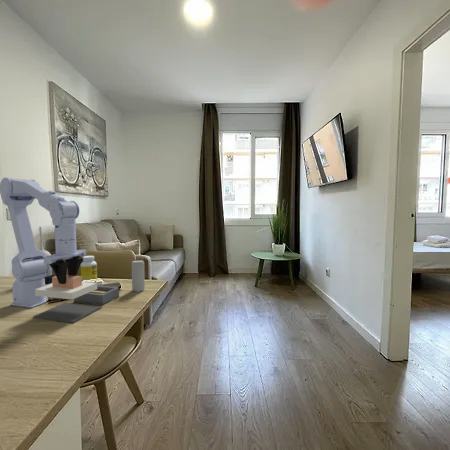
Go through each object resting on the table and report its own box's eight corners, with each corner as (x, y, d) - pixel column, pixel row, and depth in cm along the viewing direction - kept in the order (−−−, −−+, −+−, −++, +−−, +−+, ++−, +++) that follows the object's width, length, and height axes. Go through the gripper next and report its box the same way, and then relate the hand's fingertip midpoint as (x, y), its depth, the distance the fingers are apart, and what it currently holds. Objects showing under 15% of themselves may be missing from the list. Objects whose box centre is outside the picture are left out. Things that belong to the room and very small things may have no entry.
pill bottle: (90, 284, 117) (89, 258, 117) (77, 283, 119) (76, 257, 118) (100, 280, 124) (99, 255, 123) (88, 279, 125) (87, 254, 124)
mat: (32, 317, 83) (32, 316, 83) (64, 304, 94) (64, 302, 94) (73, 323, 79) (73, 321, 79) (101, 308, 91) (101, 306, 91)
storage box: (74, 301, 96) (73, 292, 96) (92, 293, 105) (91, 285, 105) (102, 305, 93) (102, 295, 93) (119, 296, 102) (118, 287, 102)
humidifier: (37, 280, 123) (34, 226, 121) (57, 279, 125) (54, 226, 123) (28, 285, 115) (25, 227, 113) (50, 284, 117) (47, 227, 115)
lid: (35, 295, 83) (34, 279, 82) (63, 285, 93) (63, 271, 93) (72, 299, 79) (71, 282, 79) (97, 288, 90) (96, 274, 89)
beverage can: (133, 288, 112) (133, 260, 111) (145, 288, 112) (145, 260, 111) (130, 292, 107) (130, 262, 106) (143, 292, 107) (142, 262, 107)
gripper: (56, 243, 77) (58, 289, 78) (93, 237, 91) (94, 276, 92) (37, 242, 79) (39, 287, 80) (75, 236, 93) (77, 275, 94)
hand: (67, 281), depth 86 cm, fingers closed on lid, 3 cm apart
